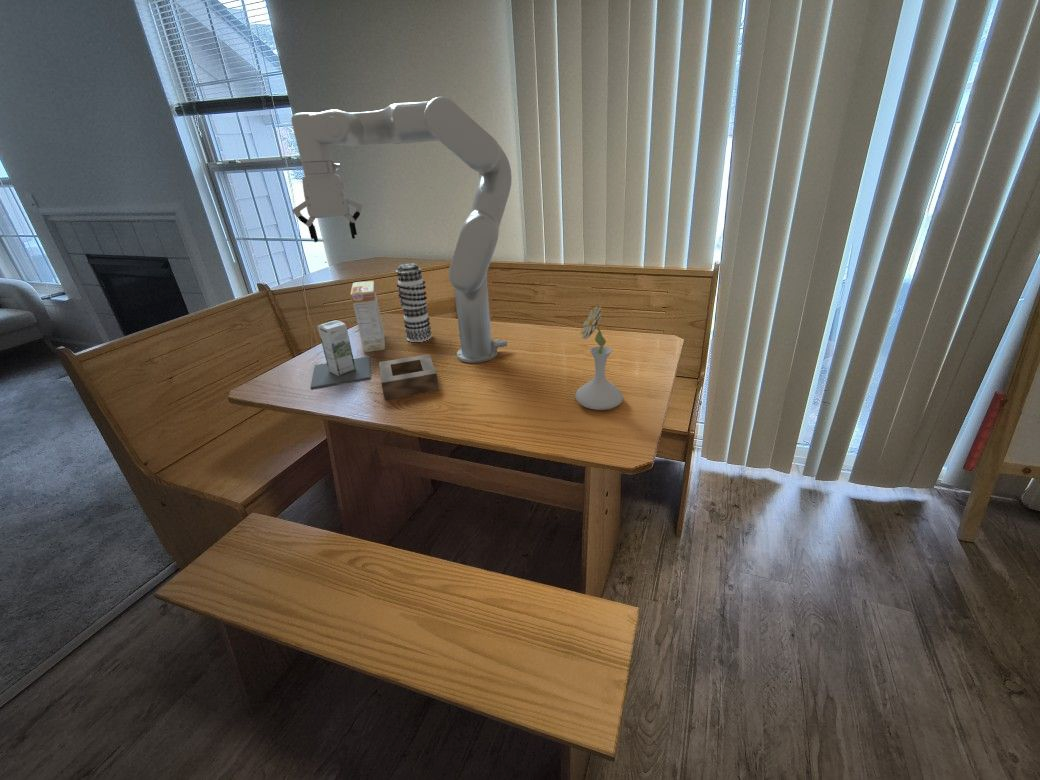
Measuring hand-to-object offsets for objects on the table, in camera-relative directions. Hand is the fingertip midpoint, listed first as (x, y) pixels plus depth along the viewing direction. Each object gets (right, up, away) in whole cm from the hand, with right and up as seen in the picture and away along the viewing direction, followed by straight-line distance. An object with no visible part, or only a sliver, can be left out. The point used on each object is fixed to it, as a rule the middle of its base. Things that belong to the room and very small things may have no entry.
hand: (335, 239), depth 122 cm
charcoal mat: (-2, -36, +10) cm, 37 cm away
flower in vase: (+69, -44, -13) cm, 83 cm away
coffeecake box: (+1, -25, +31) cm, 40 cm away
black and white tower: (+16, -23, +33) cm, 43 cm away
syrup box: (-2, -35, +10) cm, 37 cm away
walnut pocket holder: (+20, -39, +1) cm, 44 cm away
